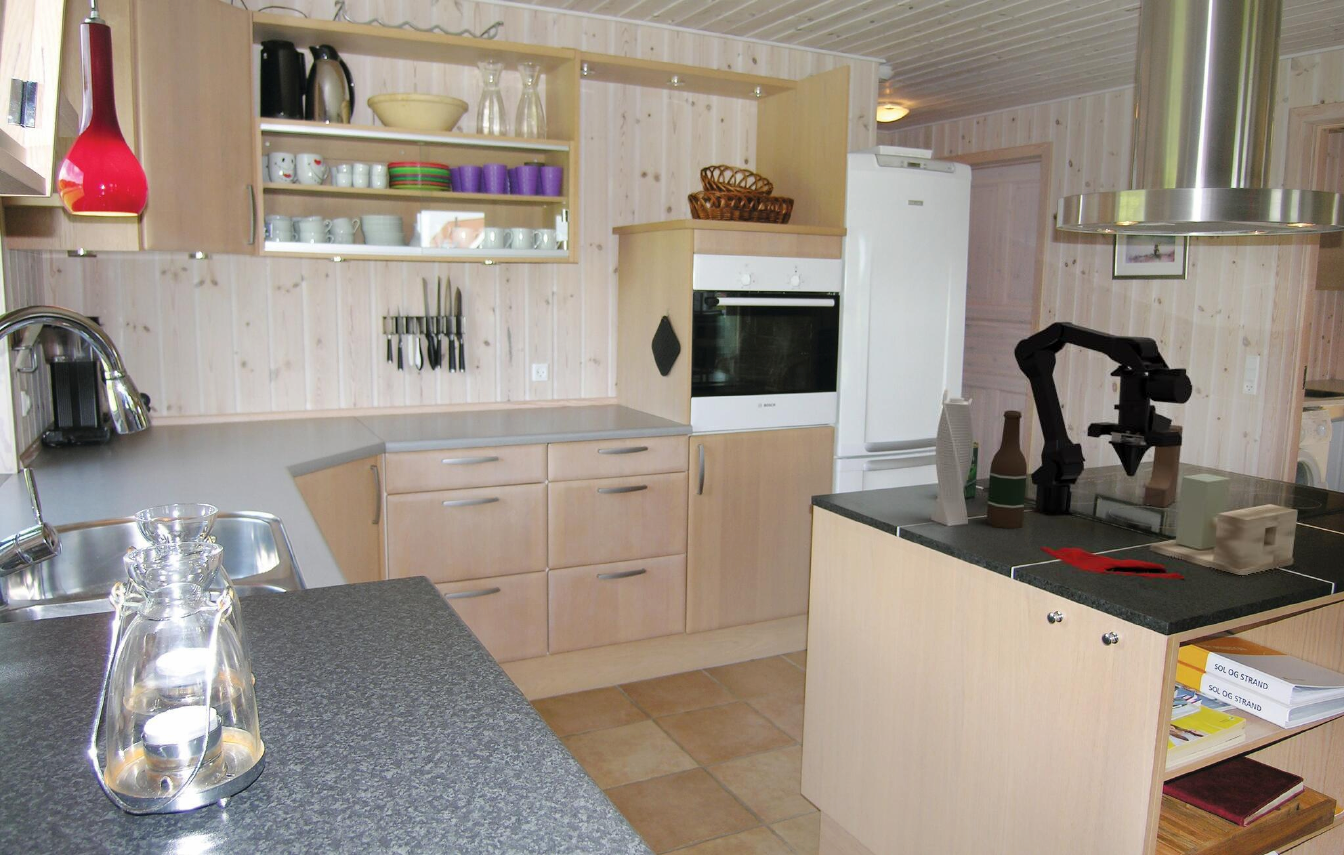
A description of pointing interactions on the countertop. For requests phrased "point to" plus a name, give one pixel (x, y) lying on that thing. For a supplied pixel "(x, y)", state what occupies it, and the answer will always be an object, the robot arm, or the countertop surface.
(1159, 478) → the wooden block
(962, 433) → the skyscraper
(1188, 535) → the block
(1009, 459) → the beer bottle
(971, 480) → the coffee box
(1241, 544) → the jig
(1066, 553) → the cloth
